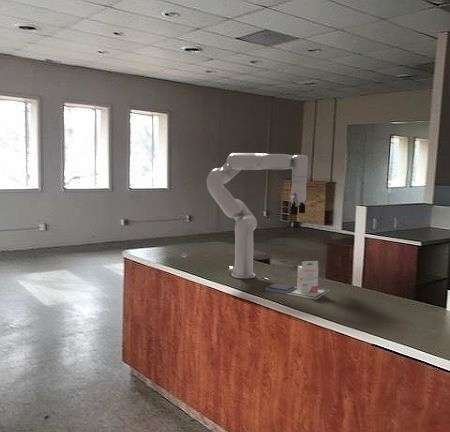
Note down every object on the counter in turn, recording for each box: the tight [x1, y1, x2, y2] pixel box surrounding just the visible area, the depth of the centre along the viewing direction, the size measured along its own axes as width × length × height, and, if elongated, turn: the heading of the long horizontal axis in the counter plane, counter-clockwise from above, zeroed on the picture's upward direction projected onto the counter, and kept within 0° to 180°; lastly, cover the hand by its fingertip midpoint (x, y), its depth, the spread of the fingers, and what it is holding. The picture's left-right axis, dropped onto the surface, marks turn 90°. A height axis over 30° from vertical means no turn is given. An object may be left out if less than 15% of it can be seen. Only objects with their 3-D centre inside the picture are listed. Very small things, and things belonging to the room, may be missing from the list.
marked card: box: [286, 287, 330, 300], centre depth 226 cm, size 14×17×1 cm
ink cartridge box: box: [296, 260, 319, 293], centre depth 226 cm, size 9×5×15 cm, turn 105°
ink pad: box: [265, 282, 297, 295], centre depth 230 cm, size 11×10×2 cm
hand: (298, 213), depth 245 cm, fingers open, 9 cm apart
